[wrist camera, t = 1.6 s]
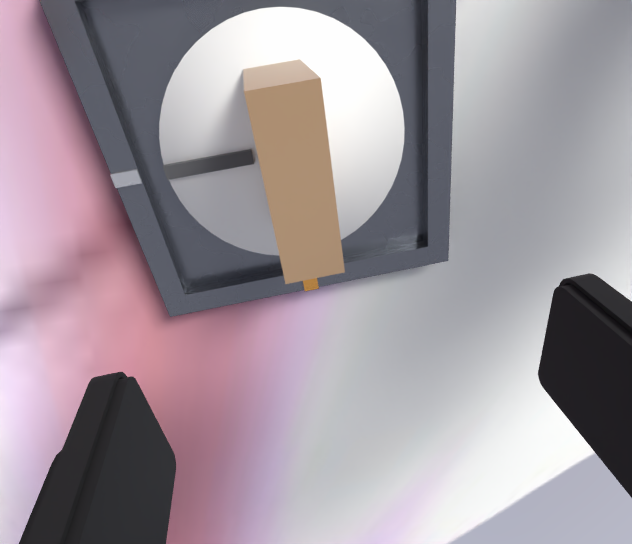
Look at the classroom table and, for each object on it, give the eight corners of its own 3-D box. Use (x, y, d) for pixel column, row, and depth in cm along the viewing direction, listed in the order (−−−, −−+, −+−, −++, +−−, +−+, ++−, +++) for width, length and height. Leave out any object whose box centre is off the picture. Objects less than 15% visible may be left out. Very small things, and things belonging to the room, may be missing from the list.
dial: (394, -15, 22) (460, -24, 15) (402, 226, 30) (450, 291, 23) (123, 31, 22) (69, 42, 15) (201, 266, 29) (189, 344, 22)
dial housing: (440, -93, 22) (461, -103, 20) (436, 246, 33) (449, 262, 31) (44, -30, 21) (23, -34, 19) (174, 298, 32) (169, 318, 30)
